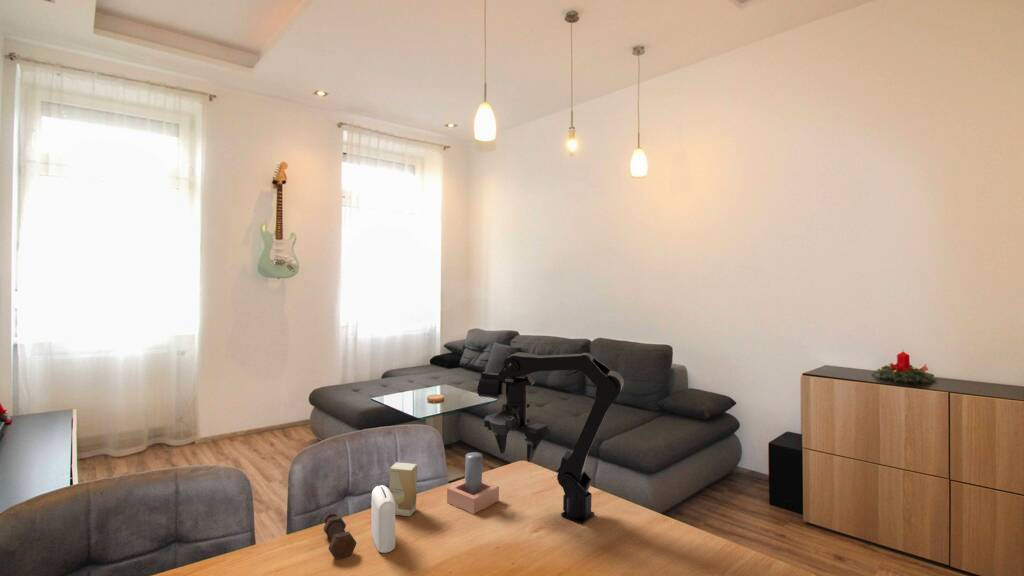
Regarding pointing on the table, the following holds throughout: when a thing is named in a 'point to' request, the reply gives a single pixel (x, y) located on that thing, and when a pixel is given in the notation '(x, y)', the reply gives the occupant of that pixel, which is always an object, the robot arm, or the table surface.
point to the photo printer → (383, 519)
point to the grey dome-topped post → (473, 473)
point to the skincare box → (403, 487)
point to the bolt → (339, 537)
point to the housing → (472, 497)
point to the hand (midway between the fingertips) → (515, 457)
